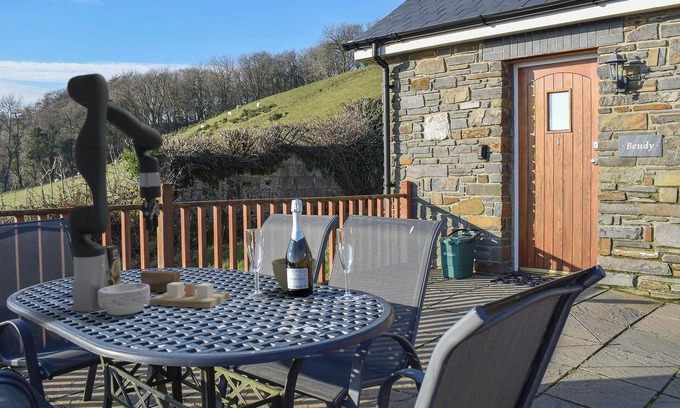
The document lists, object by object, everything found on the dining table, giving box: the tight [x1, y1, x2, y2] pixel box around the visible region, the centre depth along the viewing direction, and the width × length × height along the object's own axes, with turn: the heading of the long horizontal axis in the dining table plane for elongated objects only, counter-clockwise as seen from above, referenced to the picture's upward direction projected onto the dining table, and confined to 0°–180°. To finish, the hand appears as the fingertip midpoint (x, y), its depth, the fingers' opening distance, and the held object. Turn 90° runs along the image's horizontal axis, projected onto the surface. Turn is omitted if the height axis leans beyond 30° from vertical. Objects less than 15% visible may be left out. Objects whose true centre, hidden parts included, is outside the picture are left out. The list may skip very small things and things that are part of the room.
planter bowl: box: [271, 257, 317, 292], centre depth 203 cm, size 16×16×11 cm
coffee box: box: [103, 244, 122, 287], centre depth 211 cm, size 9×6×16 cm
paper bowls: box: [98, 282, 151, 316], centre depth 174 cm, size 15×15×8 cm
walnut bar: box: [140, 270, 181, 293], centre depth 207 cm, size 4×14×7 cm, turn 75°
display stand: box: [148, 281, 231, 309], centre depth 187 cm, size 14×22×6 cm, turn 75°
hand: (152, 228), depth 208 cm, fingers open, 8 cm apart
